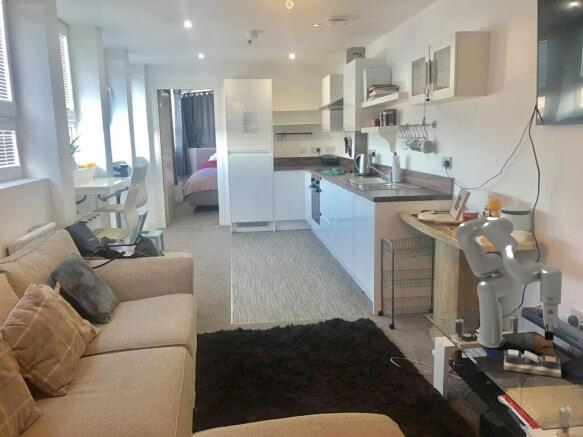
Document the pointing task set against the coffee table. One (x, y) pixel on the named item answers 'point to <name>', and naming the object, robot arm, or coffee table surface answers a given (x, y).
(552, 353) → the sunglasses case
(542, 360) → the switch panel
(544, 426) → the coffee table surface
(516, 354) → the button left
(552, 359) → the button right
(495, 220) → the robot arm
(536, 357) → the rocker
